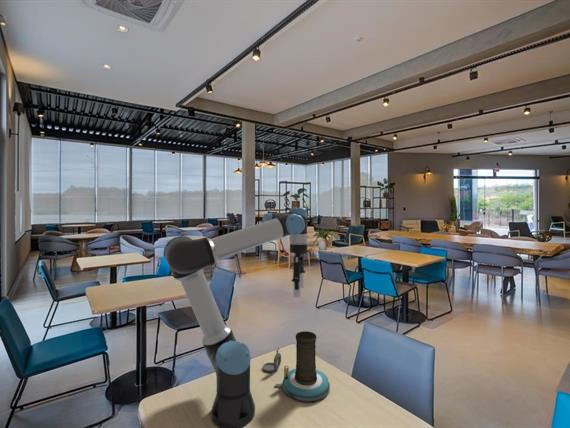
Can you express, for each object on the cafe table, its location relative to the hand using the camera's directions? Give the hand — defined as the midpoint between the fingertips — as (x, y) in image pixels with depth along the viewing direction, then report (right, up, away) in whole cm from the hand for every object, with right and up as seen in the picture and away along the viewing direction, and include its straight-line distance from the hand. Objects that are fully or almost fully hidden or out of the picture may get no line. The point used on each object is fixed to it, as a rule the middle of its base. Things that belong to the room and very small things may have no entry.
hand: (298, 292), depth 134 cm
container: (+2, -33, -9) cm, 34 cm away
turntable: (+2, -34, -9) cm, 36 cm away
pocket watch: (-12, -36, +4) cm, 38 cm away
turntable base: (+1, -36, -9) cm, 37 cm away
